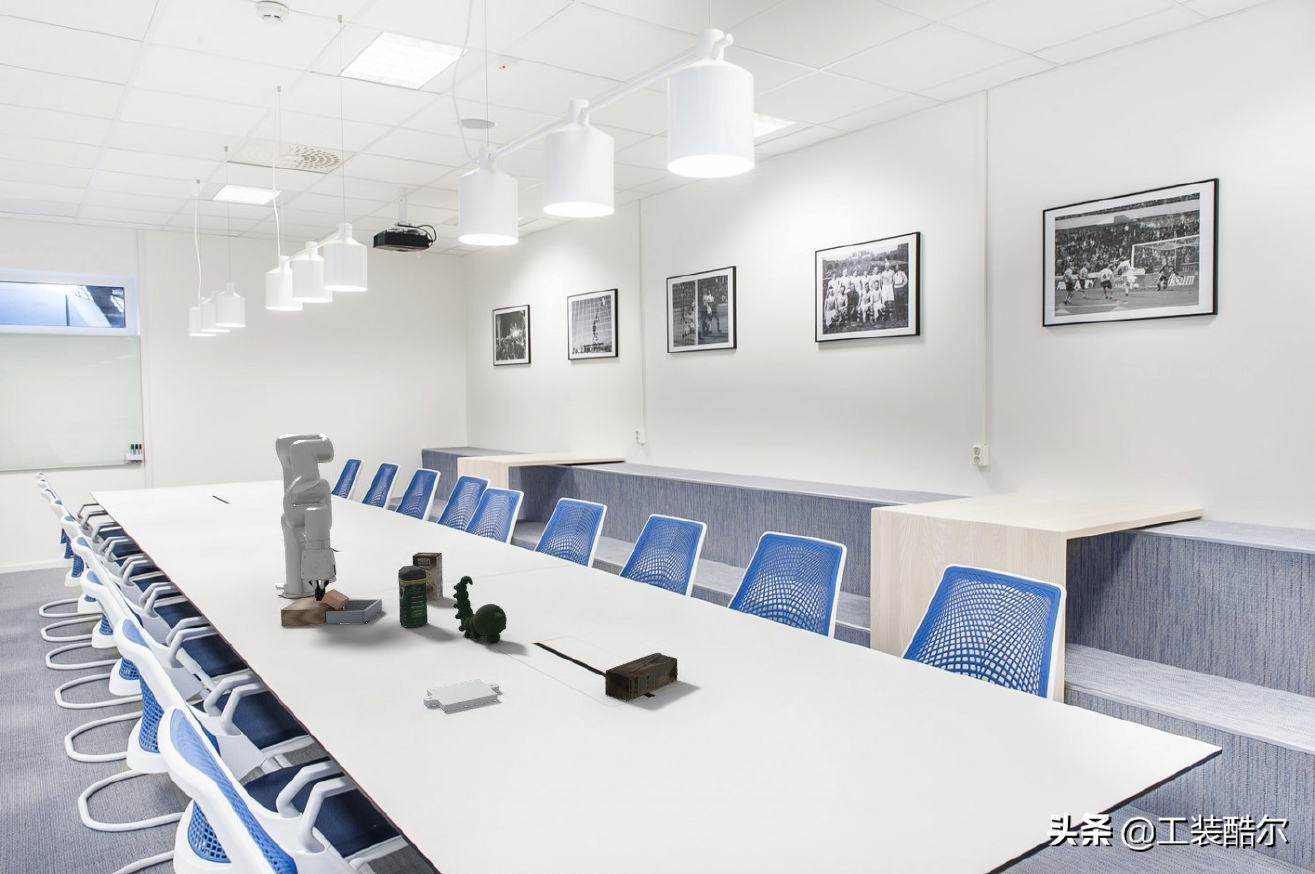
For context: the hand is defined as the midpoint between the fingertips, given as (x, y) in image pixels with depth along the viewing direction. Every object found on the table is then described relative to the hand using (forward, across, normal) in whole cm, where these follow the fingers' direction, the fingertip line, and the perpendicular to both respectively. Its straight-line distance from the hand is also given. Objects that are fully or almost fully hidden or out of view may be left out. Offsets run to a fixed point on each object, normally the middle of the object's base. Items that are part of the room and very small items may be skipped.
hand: (320, 600), depth 283 cm
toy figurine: (+6, +59, -26) cm, 65 cm away
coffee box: (+6, +28, +25) cm, 38 cm away
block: (+1, +4, 0) cm, 5 cm away
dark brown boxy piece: (+7, +108, -71) cm, 129 cm away
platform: (+6, -3, 0) cm, 7 cm away
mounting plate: (+7, +65, -76) cm, 101 cm away
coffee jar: (+6, +34, -10) cm, 35 cm away
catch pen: (+6, +11, 0) cm, 12 cm away
